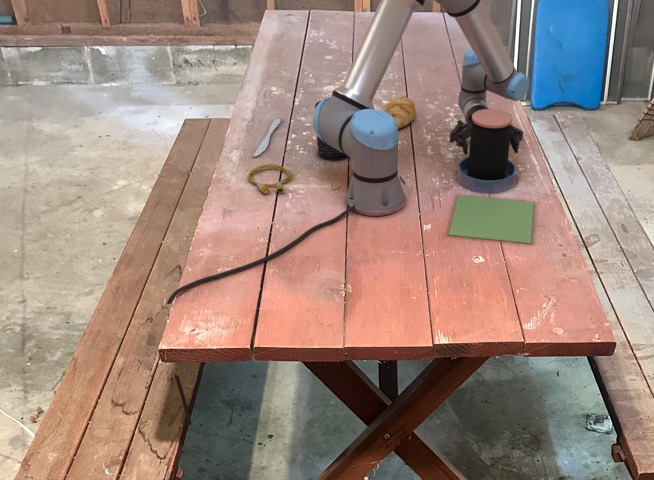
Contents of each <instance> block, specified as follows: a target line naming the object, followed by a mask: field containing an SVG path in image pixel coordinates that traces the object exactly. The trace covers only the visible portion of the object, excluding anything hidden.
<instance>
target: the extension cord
mask: <svg viewBox="0 0 654 480" xmlns="http://www.w3.org/2000/svg"><path fill="white" fill-rule="evenodd" d="M267 170H277V171H281V172H284V173H286V175H287V177H285V178H284V179H282V180H280V181H277V182H276V183H270V184H269V183H260V182H257V181H254V179H253V178H252V176H253V175H254V174H256V173H259V172H262V171H267ZM291 179H292V178H291V173H289V171H288V170H287V168H285V167H283V166H281V165H279V164H273V163H271V164H268V163H267V164H262V165H258V166H257V167H255V168H253V169H252V170H251V171H249V173H248V175H247V180H248V181H249V182H250V183H252V184H253V185H255V186H256V187H257V189H258V190H259V191H260V192H261V193H262V194H264V195H268V194H270V192H271V190H270V189H269V188H275V187H276V191H277V193H278V194H283V193H284V184H285V183H288V182H289V181H291Z"/></svg>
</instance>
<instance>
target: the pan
mask: <svg viewBox="0 0 654 480" xmlns="http://www.w3.org/2000/svg"><path fill="white" fill-rule="evenodd" d="M468 163H469V156H467V157H464V158H463V159H461V160H460V162H458V165H457V182H458V183H459V184H460V186H462V187H463V188H465V189H467V190H469V191H472V192H476V193H480V194H497V193H503V192H506V191H508V190H510V189H512V188H513V187H514V185H515V184H516V182H517V173H518V168H517V165H516V164H515V163H514V162H513V161H512V160H509V159H508V163H507V172H506V177H505V178H504V179H501V180H480V179H475V178H472V177H470V176H468Z"/></svg>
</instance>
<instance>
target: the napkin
mask: <svg viewBox="0 0 654 480" xmlns="http://www.w3.org/2000/svg"><path fill="white" fill-rule="evenodd" d="M534 205H535V202H534V201H526V200H525V201H524V200H513V199H504V198H493V197H485V196H484V197H483V196H472V195H464V194H463V195H462V194H457V198H456V202H455V207H454V211H453V215H452V219H451V223H450V227H449V231H448V236H451V237H452V236H453V237H462V238H472V239H480V240H489V241H499V242H509V243H518V244H528V245H531V244H532V231H533V217H534Z"/></svg>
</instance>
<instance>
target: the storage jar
mask: <svg viewBox="0 0 654 480" xmlns="http://www.w3.org/2000/svg"><path fill="white" fill-rule="evenodd" d="M323 100H324V99H321V100H319V101H317V102H316V103H315V104H314V110H315V109H316V107H317V105H318V104H319V103H320V102H321V101H323ZM316 147H317V151H318V153H317V157H319V159H321V160H323V161H327V162H341V161H344V160H347V159H349V158H350V157H349V156H347V155H345V154H344V153H342V152H340V151H338V150H337V149H335V148H333V147H331V146H328V145H327V144H326V143H325V142H324V141H322V140H321V139H320V138H319V137H318V136H317V135H316Z"/></svg>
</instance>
